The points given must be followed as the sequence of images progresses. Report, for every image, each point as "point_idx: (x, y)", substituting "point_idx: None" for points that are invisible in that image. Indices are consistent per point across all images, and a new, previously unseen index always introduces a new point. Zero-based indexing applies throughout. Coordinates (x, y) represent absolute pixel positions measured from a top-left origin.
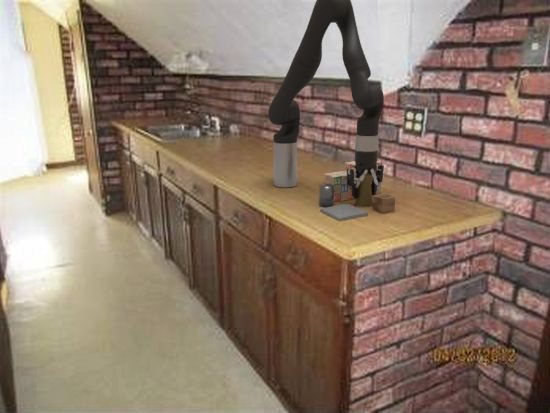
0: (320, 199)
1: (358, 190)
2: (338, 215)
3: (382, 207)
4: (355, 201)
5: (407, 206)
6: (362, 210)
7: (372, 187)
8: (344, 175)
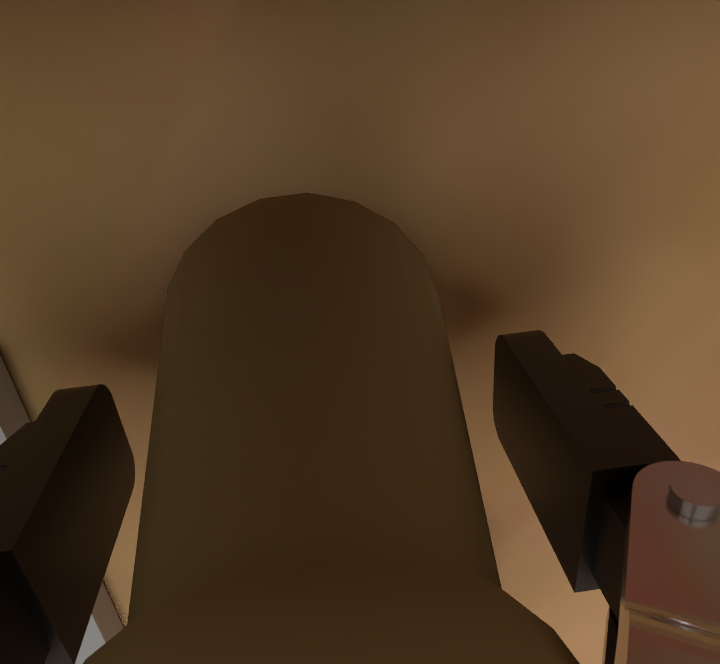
0: None
1: (86, 611)
2: None
3: None
4: (175, 287)
5: None
6: (91, 639)
7: (551, 480)
8: None
